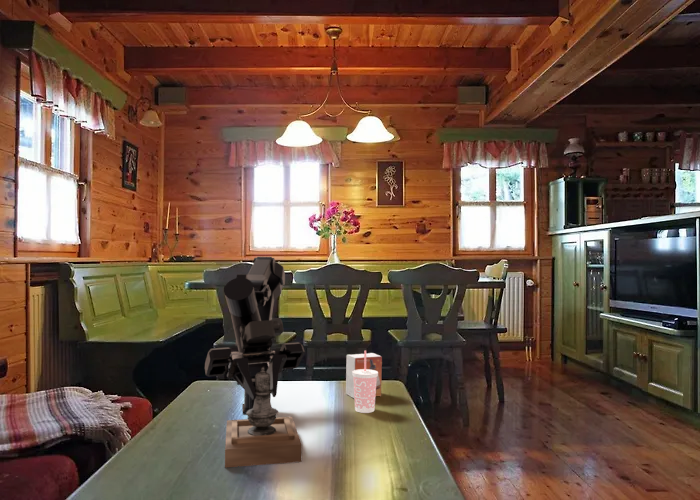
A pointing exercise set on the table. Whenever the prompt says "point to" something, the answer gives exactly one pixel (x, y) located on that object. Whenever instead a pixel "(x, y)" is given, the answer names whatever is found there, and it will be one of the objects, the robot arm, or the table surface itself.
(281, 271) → the robot arm
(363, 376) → the beverage cup
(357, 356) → the small box
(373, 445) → the table surface
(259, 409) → the antique pepper shaker
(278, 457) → the walnut plinth
